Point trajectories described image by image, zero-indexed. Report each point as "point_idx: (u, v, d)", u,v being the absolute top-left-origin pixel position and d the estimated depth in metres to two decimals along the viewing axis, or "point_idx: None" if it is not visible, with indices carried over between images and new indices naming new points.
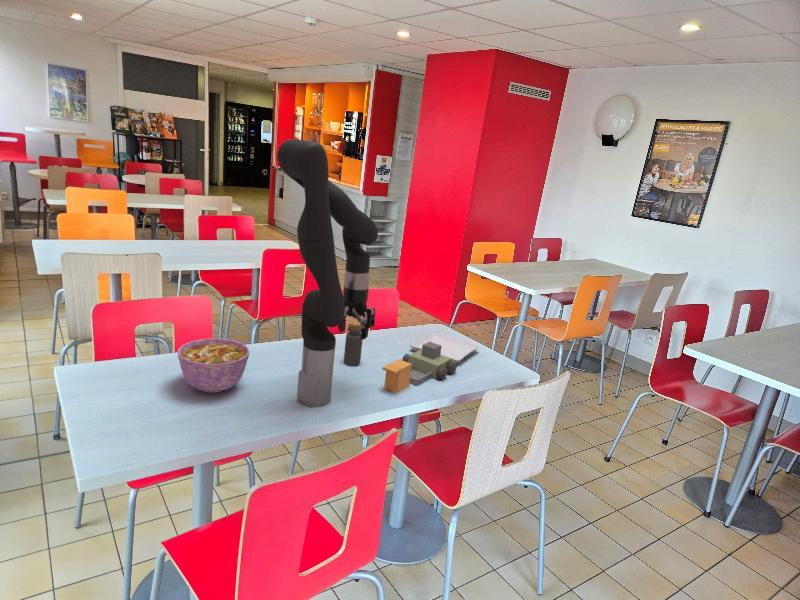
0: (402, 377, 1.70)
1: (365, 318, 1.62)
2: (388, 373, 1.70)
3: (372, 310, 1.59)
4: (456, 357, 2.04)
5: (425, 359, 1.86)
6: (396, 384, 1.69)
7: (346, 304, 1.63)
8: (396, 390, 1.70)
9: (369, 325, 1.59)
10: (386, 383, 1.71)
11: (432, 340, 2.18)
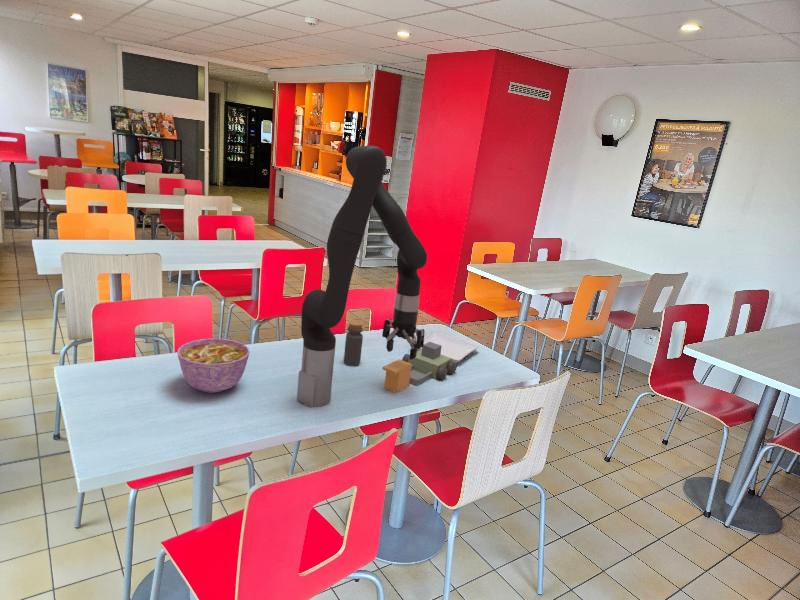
0: (402, 377, 1.70)
1: (414, 339, 1.68)
2: (388, 373, 1.70)
3: (422, 331, 1.65)
4: (456, 357, 2.04)
5: (425, 359, 1.86)
6: (396, 384, 1.69)
7: (396, 325, 1.69)
8: (396, 390, 1.70)
9: (419, 346, 1.65)
10: (386, 383, 1.71)
11: (432, 340, 2.18)
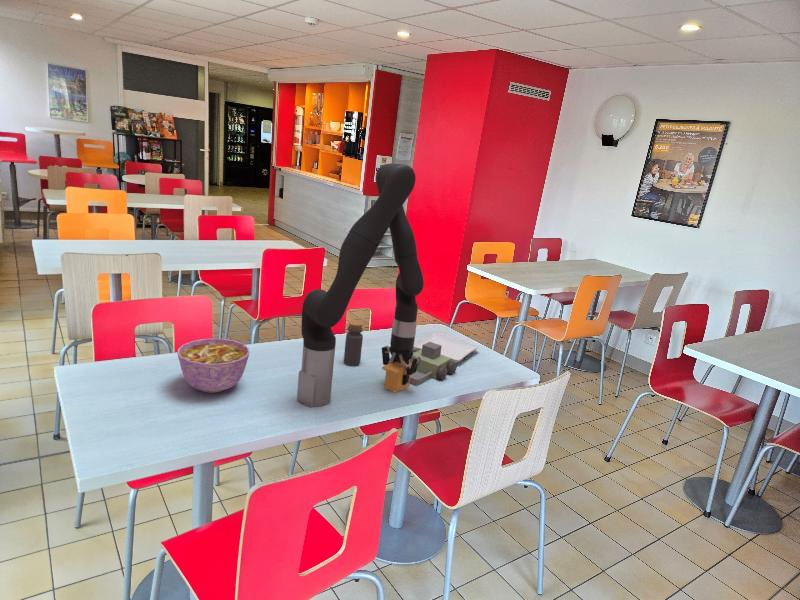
0: (402, 376, 1.70)
1: (408, 365, 1.70)
2: (388, 373, 1.70)
3: (418, 360, 1.67)
4: (456, 357, 2.04)
5: (425, 359, 1.86)
6: (396, 384, 1.69)
7: (393, 349, 1.71)
8: (396, 390, 1.70)
9: (411, 372, 1.68)
10: (385, 383, 1.72)
11: (432, 340, 2.18)
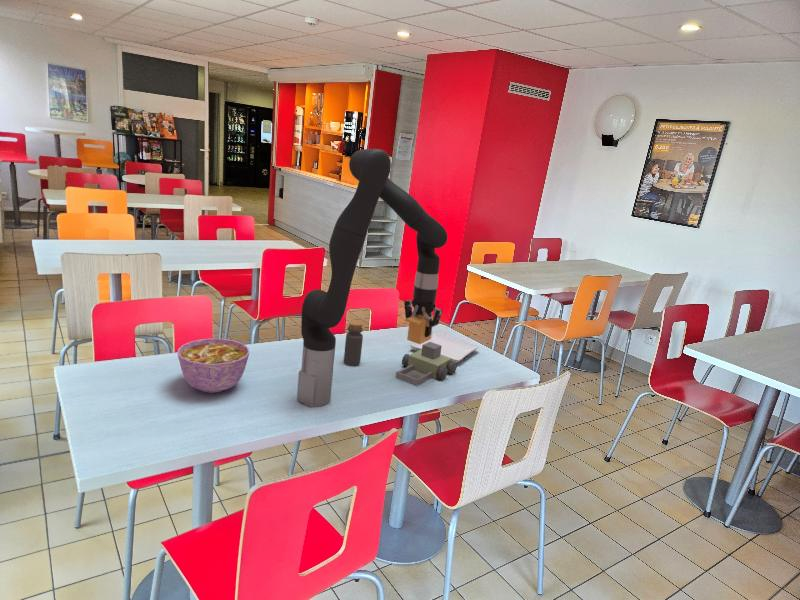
0: None
1: (431, 317, 1.75)
2: (411, 325, 1.75)
3: (440, 312, 1.71)
4: (456, 357, 2.04)
5: (425, 359, 1.86)
6: (419, 336, 1.74)
7: (415, 302, 1.75)
8: (419, 341, 1.74)
9: (433, 323, 1.72)
10: (408, 336, 1.76)
11: (432, 340, 2.18)
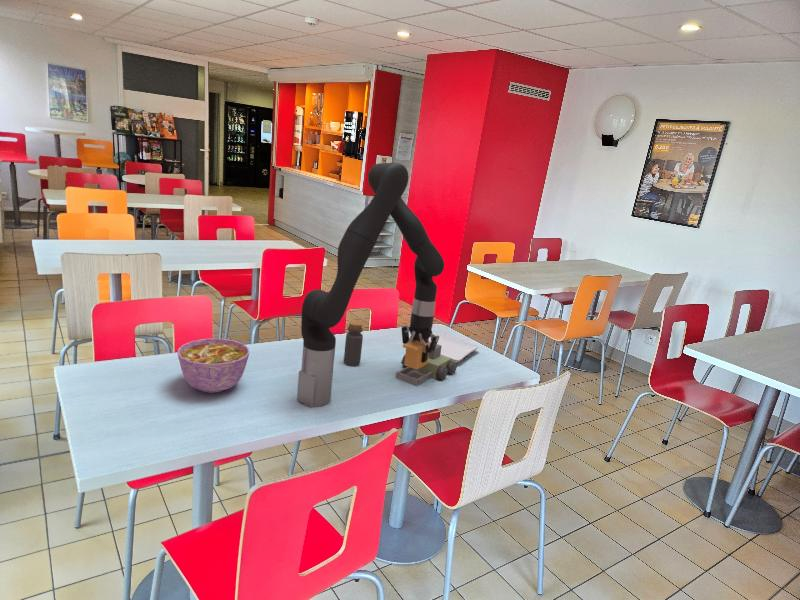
0: (421, 354, 1.78)
1: (427, 343, 1.78)
2: (408, 351, 1.78)
3: (437, 338, 1.75)
4: (456, 357, 2.04)
5: None
6: (416, 361, 1.77)
7: (412, 328, 1.78)
8: (416, 367, 1.77)
9: (430, 350, 1.76)
10: (405, 361, 1.79)
11: None
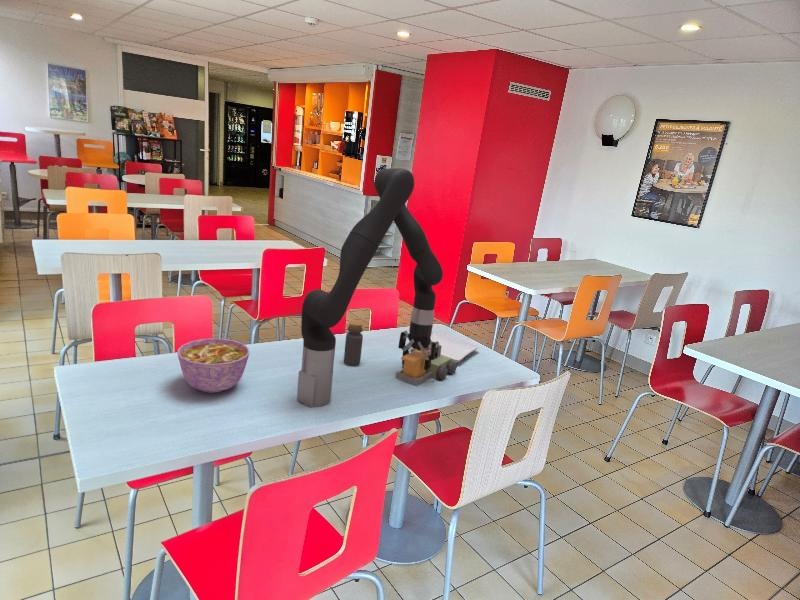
0: (420, 366, 1.79)
1: (429, 350, 1.78)
2: (406, 363, 1.79)
3: (436, 344, 1.75)
4: (456, 357, 2.04)
5: None
6: (414, 373, 1.78)
7: (411, 337, 1.79)
8: None
9: (433, 357, 1.75)
10: (404, 373, 1.80)
11: (432, 340, 2.18)
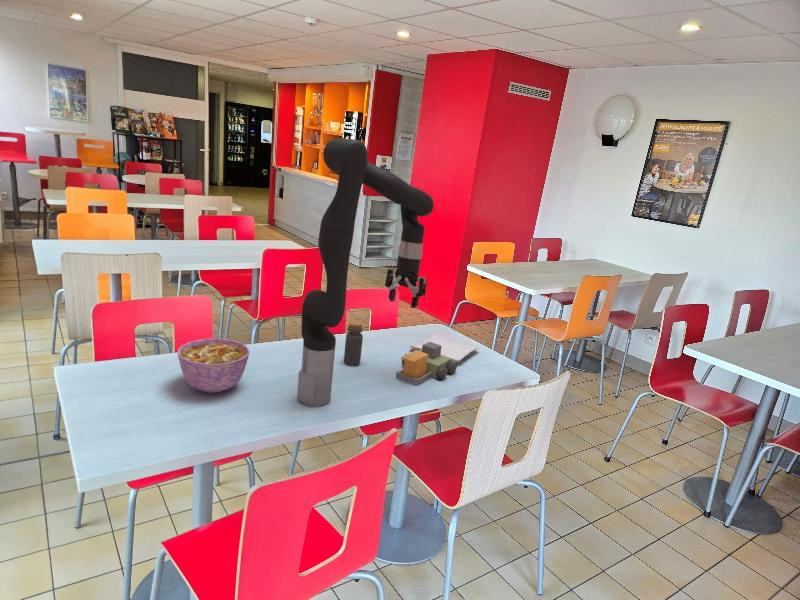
0: (420, 366, 1.79)
1: (416, 288, 1.70)
2: (406, 363, 1.79)
3: (424, 279, 1.67)
4: (456, 357, 2.04)
5: None
6: (414, 373, 1.78)
7: (398, 274, 1.71)
8: None
9: (420, 293, 1.67)
10: (404, 373, 1.80)
11: (432, 340, 2.18)
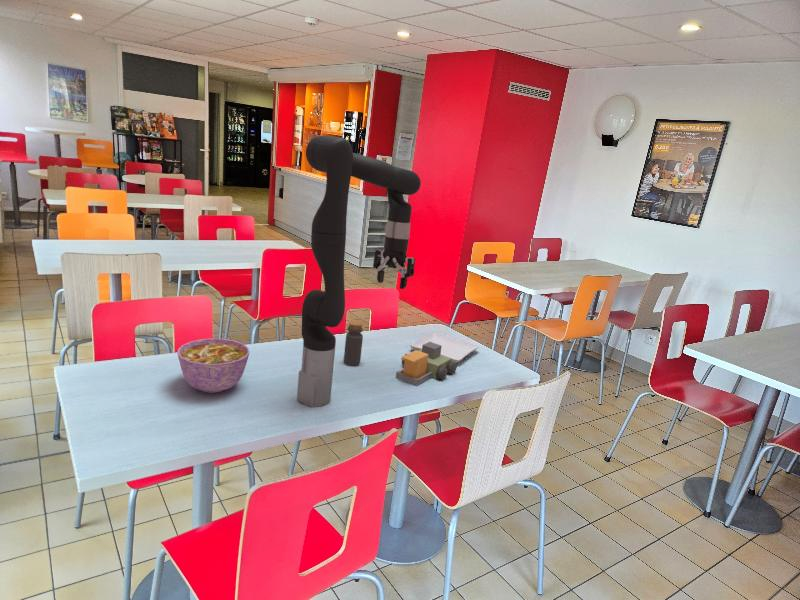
0: (420, 366, 1.79)
1: (404, 268, 1.67)
2: (406, 363, 1.79)
3: (412, 259, 1.65)
4: (456, 357, 2.04)
5: None
6: (414, 373, 1.78)
7: (386, 255, 1.68)
8: None
9: (409, 274, 1.65)
10: (404, 373, 1.80)
11: (432, 340, 2.18)
